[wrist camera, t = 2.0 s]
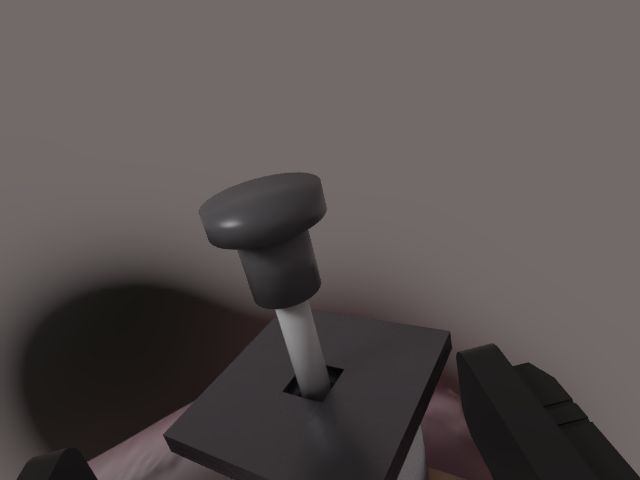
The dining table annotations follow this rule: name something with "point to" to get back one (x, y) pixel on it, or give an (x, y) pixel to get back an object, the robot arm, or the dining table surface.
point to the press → (320, 406)
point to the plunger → (277, 259)
